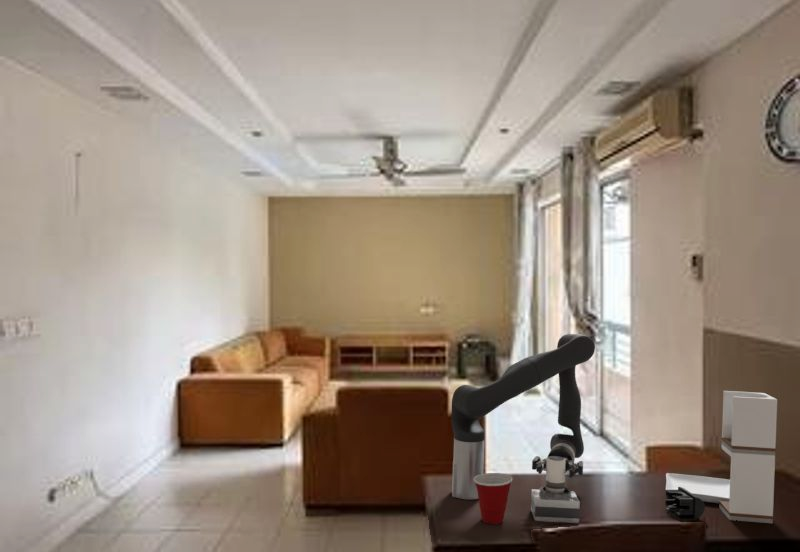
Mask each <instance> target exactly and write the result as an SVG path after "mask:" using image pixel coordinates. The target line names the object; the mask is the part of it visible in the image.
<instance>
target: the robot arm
mask: <svg viewBox="0 0 800 552" xmlns="http://www.w3.org/2000/svg"><path fill="white" fill-rule="evenodd" d="M595 350H596V344H595V342H594V340H593V339H592V337H590V336H588V335H585V334H581V333H569V334H568V333H567V334H564V335H562V336H561V337H560V338H559V340H558V342H557V345H556V348H555V349H551V350H550V351H549V350H548V351H545V352H540V353H537V354H534V355H531V356H530V355H529V356H527V357H525V358H523V359H521V360H519V361H516V362H515V363H513V364H511V365H509V367H508V368H506V370H505V371H504V372H503V374H502V375H501V377H500V378H498V379H497V380H495V381H493V382H492V383H489V384H487V385H484V386H481V387H476V386H474V385H469V384H463V385H462V384H461V385H460V386H458V387H457V388H456V389H455V390H454V392H453V394H452V398H451V426H452V427H451V428H452V431H453V458H452V459H453V461H452V483H451V485H452V486H451V487H452V488H451V495H452V496H451V497H452V498H457V499H461V500H479V498H478V491H477V487H476V484H475V482H474V481H473V479H474V477H475V476H477V475H481V474H484V468H485V467H484V466H485V463H484V462H485V459H484V458H485V431H484V429H483V426H481V423H480V421H479V419H480V418H484V417H485V416H486V415H488V414H490V413H491V412H493V411H494V410H496V409H497V408H499V406H501V405H503V404H504V403H506V402H508V401H509V400H512V399H514V398H515V397H517V396H519V395H521V394H523V393H525V392H527V391H529V390H532V389H533V388H535V387H538V386H539V385H541V384H542V383H545V381H547V380H550V379H551V378H553V377H554V376H556V375H558V383H559V384H558V385H559V400H558V413H557V414H558V415H557V423H558V425H559V426H561V427H564V428H567V429H570V430H571V432H572V434H565V433H554V434H553V435H552V437H551V439H550V443H549V446H550V451H549V452H548V455H547V457H549V456H559V457H563V458H565V459H566V461H565V474H567V475H569V476H568V477H569V478H573V477H576V475H577V474H578V476H583V474H584V461H583V460H580V461H578V462H576V463H575V460H576V459H579V458H581V457H582V456H583V454H584V451H585V446H584V440H583V436H582V429H581V416H582V415H581V413H582V398H581V397H582V396H581V394H580V390H579V387H578V383H577V379H576V366H578V365H582V364H583V363H586V362H588V361H589V360H591V358H592V357H593V356H594V354H595ZM547 457H545V458H544V459H542V458H541V456H538V455H536V456H535V457H534V458H533V459H532V461H531V469H532V470H536V473H538V475H542V473H543V471H544V472H546V463H547Z"/></svg>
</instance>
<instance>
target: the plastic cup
mask: <svg viewBox="0 0 800 552" xmlns="http://www.w3.org/2000/svg"><path fill="white" fill-rule="evenodd" d="M513 479H514V478H513V477H512V476H511V475H509V474H507V473H501V472H489V473H483V474H481V475H477V476H475V477H474V479H473V481H474V482H475V484H476V487H477V491H478V498H479V499H478V504H479V509H480V517H481V520H482V522H483V523H487V524H490V525H498V524H501V523H503V521H504V518H505V513H506V509H507V504H508V498H509V493H510V489H511V484H512V482H513Z"/></svg>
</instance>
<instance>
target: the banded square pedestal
mask: <svg viewBox="0 0 800 552" xmlns="http://www.w3.org/2000/svg"><path fill="white" fill-rule="evenodd" d="M530 499H531V500H530V511H531V514H532V516H533V519H534V521H536V522H547V523H548V522H550V523H553V522H554V523H566V524H567V523H568V524H570V523H572V524H579V523H580V513H581V511H580V510H581V509H580V506H581V505H580V504H581V501H580V499H579V498H578V495H577V494H576V492H575V491H573V490H571V489H570V488H568V487H566V486H565V491H564V493H562V494H555V493H549V492H546V485H542V486H540V487H539V488H538V489H535V488H534V489H533V488H532V489H531V498H530Z"/></svg>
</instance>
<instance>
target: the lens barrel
mask: <svg viewBox="0 0 800 552" xmlns="http://www.w3.org/2000/svg"><path fill="white" fill-rule="evenodd" d="M546 458H547V463H546V471H545V486H546V492H549V493H555V494H562V493H564V491H565V487H566V473H565V461H566V459H565V458H563V457H559V456H549V457H548V456H547V457H546Z"/></svg>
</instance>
